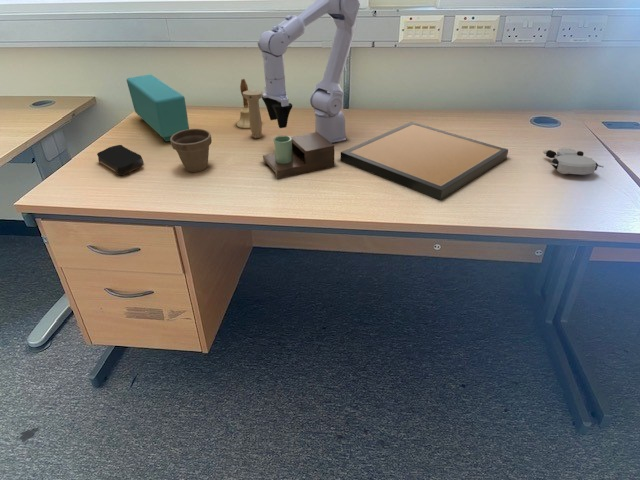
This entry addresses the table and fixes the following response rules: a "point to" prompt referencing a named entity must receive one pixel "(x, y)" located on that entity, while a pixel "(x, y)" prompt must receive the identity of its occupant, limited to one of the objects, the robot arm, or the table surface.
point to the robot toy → (571, 162)
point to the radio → (158, 105)
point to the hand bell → (244, 112)
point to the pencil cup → (283, 149)
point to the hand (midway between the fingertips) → (278, 123)
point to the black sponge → (120, 159)
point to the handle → (254, 111)
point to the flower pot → (192, 148)
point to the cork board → (425, 158)
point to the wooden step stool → (307, 145)
